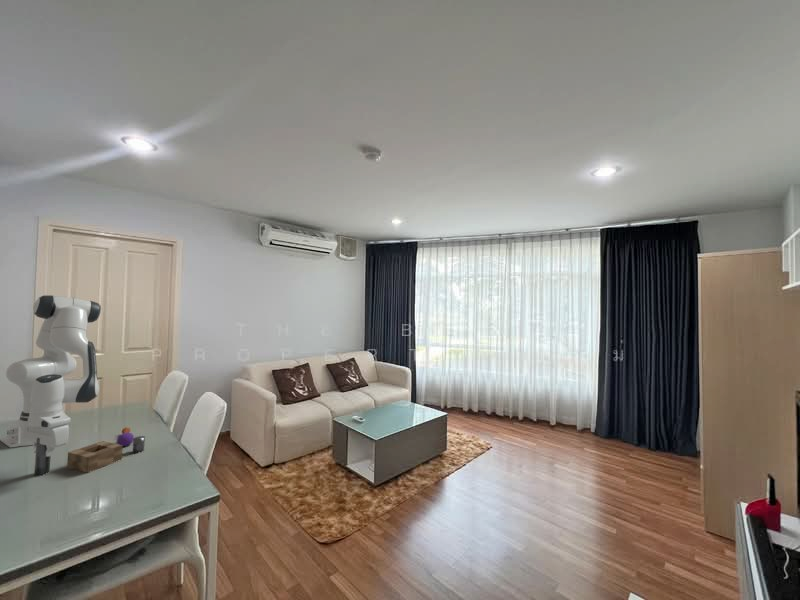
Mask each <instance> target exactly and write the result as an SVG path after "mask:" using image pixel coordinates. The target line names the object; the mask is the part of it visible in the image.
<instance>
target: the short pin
mask: <svg viewBox="0 0 800 600" xmlns="http://www.w3.org/2000/svg"><path fill="white" fill-rule="evenodd" d="M145 438H146V437H145V436H143V435H141V436H135V437H134V439H133V442H132V453H133V454H139V453H138V452H140V453H143V452H144V451H145V440H146V439H145ZM142 451H143V452H142Z"/></svg>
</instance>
